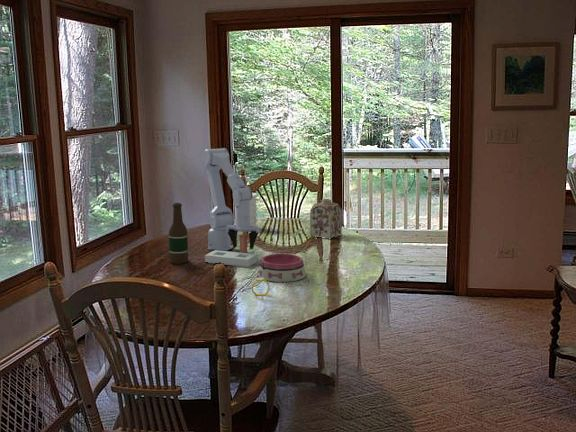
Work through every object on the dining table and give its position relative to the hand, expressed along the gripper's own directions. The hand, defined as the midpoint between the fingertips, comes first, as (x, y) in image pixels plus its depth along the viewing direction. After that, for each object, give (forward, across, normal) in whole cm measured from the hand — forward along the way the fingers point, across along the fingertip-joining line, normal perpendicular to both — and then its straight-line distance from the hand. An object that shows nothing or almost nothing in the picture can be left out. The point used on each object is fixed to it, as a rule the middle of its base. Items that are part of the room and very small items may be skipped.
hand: (243, 247), depth 251 cm
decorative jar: (+4, +22, +49) cm, 54 cm away
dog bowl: (+4, +25, -21) cm, 33 cm away
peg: (+4, 0, 0) cm, 4 cm away
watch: (+4, +26, -45) cm, 52 cm away
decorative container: (+4, -20, +50) cm, 54 cm away
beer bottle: (+4, -21, -17) cm, 27 cm away
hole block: (+4, -1, -10) cm, 11 cm away
